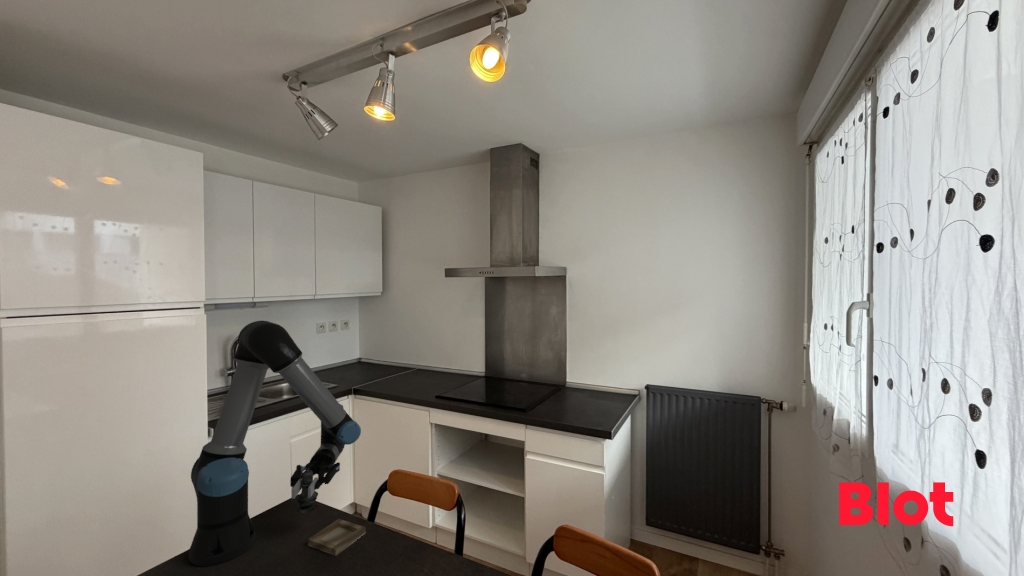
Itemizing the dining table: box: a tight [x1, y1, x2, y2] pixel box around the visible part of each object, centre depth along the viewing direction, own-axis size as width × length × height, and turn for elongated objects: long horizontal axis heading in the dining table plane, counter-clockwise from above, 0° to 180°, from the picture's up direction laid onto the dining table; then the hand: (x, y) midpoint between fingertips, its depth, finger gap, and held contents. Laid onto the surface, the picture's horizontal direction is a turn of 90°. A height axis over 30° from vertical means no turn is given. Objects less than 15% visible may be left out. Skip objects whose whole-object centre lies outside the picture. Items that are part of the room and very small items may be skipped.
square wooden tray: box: [307, 518, 367, 557], centre depth 115 cm, size 11×11×2 cm
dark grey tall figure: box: [295, 468, 319, 514], centre depth 117 cm, size 6×6×12 cm
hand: (301, 493), depth 112 cm, fingers closed on dark grey tall figure, 4 cm apart
